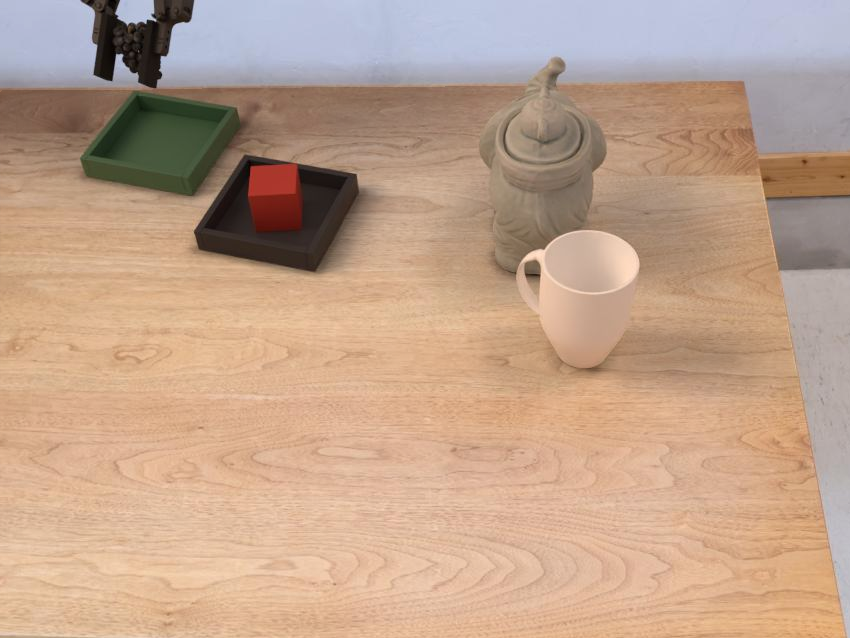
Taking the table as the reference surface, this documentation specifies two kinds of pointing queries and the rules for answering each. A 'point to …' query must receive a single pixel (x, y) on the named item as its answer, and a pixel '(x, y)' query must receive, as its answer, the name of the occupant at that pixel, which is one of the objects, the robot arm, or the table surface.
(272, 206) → the red block
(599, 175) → the table surface
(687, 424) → the table surface
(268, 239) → the black tray
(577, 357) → the mug
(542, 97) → the lidded stone jar
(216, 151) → the green tray
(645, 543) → the table surface
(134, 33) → the fruit
